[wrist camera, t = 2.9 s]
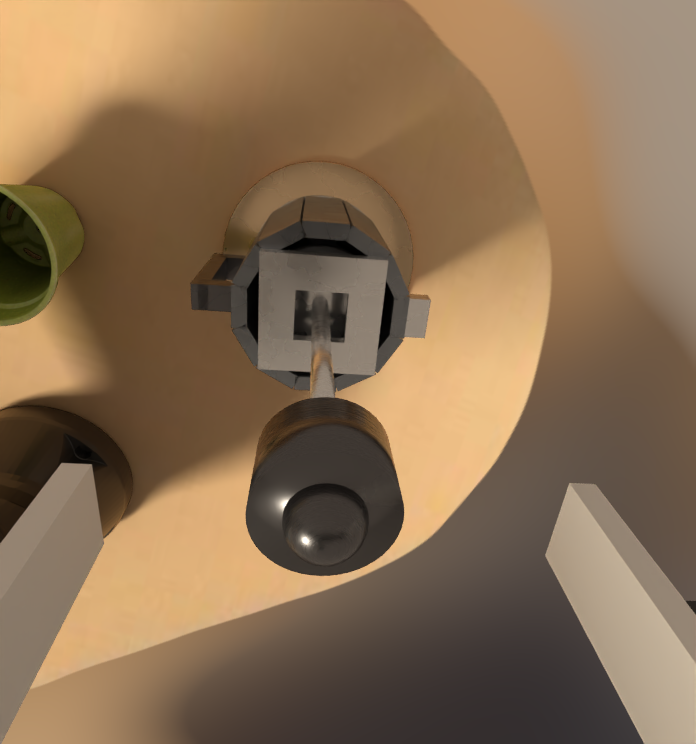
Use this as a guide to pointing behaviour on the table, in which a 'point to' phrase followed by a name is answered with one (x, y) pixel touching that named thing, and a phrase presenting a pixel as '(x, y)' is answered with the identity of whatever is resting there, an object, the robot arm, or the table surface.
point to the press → (315, 271)
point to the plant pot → (34, 249)
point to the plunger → (323, 464)
